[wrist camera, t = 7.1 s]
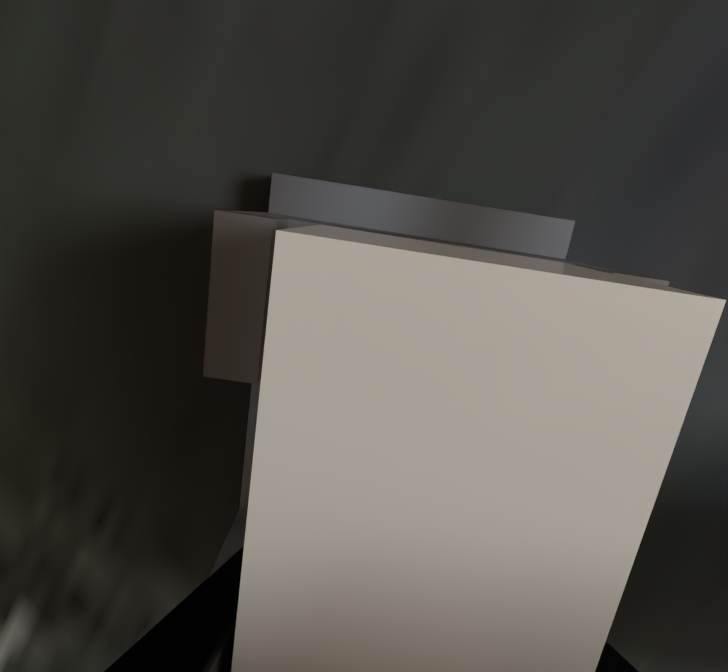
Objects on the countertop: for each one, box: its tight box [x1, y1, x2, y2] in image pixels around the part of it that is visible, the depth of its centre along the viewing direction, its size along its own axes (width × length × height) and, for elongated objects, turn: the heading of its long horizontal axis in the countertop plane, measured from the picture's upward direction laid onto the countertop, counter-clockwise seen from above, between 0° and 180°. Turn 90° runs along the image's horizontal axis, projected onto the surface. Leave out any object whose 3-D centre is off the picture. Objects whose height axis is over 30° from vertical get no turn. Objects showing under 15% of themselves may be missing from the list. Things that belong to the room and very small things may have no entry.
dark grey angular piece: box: [203, 173, 669, 577], centre depth 12 cm, size 8×14×6 cm, turn 171°
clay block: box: [231, 224, 726, 672], centre depth 8 cm, size 4×12×4 cm, turn 171°
